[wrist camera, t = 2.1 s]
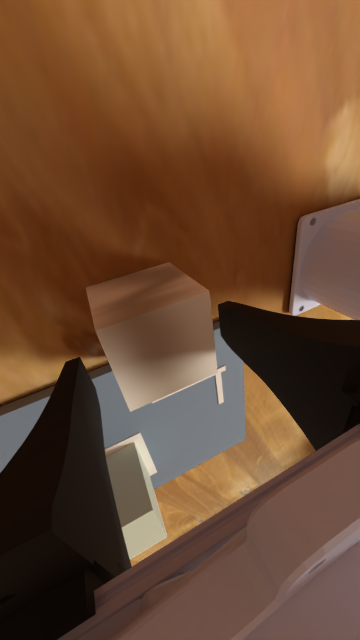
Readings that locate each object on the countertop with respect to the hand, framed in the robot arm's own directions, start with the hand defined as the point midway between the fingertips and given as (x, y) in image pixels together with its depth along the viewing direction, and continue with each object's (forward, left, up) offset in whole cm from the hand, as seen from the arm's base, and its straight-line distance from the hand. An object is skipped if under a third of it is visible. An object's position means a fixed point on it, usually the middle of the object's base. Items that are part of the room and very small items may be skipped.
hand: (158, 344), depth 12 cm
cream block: (0, 0, -4) cm, 4 cm away
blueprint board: (+3, +11, -4) cm, 12 cm away
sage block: (+6, +13, -3) cm, 15 cm away
